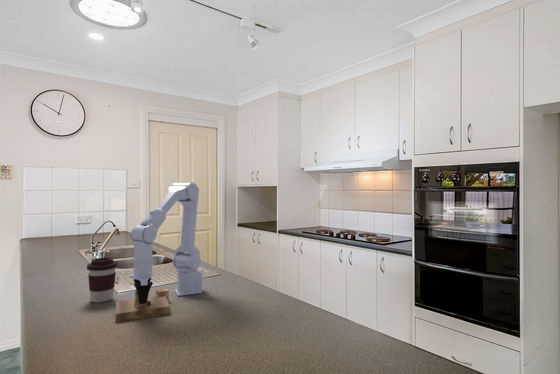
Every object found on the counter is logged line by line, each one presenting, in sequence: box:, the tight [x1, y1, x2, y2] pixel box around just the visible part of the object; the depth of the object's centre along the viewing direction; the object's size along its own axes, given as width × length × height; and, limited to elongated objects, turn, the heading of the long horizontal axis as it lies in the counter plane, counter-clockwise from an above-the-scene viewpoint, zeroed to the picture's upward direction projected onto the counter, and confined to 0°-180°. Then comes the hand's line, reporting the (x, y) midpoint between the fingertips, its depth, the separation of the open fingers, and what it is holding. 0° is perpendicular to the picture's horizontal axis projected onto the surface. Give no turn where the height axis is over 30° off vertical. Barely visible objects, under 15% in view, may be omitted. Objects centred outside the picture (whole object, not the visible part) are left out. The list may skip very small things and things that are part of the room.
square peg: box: [134, 289, 147, 308], centre depth 109 cm, size 4×4×7 cm
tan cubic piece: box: [155, 287, 170, 303], centre depth 120 cm, size 4×4×4 cm
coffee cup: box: [86, 257, 118, 304], centre depth 121 cm, size 10×10×15 cm
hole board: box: [115, 296, 171, 323], centre depth 109 cm, size 16×12×2 cm
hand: (142, 301), depth 109 cm, fingers open, 4 cm apart
